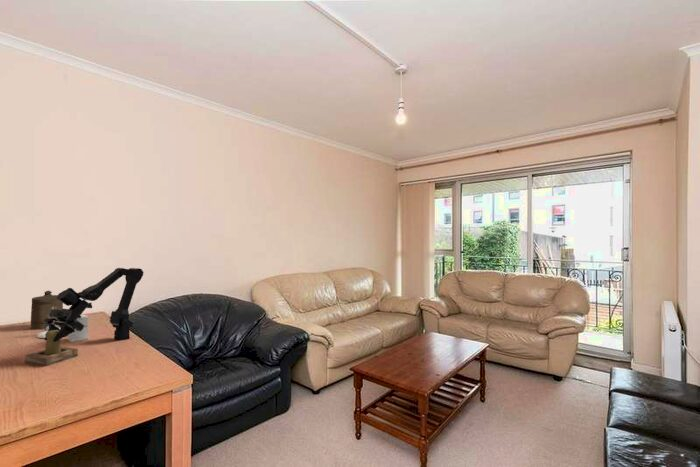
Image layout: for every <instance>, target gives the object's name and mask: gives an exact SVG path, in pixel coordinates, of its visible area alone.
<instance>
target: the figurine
mask: <svg viewBox="0 0 700 467" xmlns="http://www.w3.org/2000/svg"><path fill="white" fill-rule="evenodd" d="M51 309H55V310H56V308H55V307H51ZM47 316H48V318H54V317H51V316H49V315H47ZM55 318H57V317H55ZM48 329H49V326H48V325H46V326H45V328H44V329H43V330H42V331H40V332H39V333H37V334H36V338H39V339H45V334H46V332H48ZM59 329H61V327H60V328H59Z"/></svg>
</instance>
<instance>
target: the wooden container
mask: <svg viewBox="0 0 700 467" xmlns="http://www.w3.org/2000/svg"><path fill="white" fill-rule="evenodd" d="M52 293H53V292H52V291H51V290H45V291H44V294H43V295H40V296H34V297H32V298H31V312H30V329H32V330H44V328H45V326H46V325H47V324H45V323H44V322H43V321H44V320H45V319H46V318H48V316H47V315H49V314H50V312H51V307H55V308H56V310H62V309H64V303H62V302H61V301H59V300H58V299H57V296H58V294H54V295H53V294H52ZM51 317H53V316H51ZM54 318H55V317H54ZM55 319H56V318H55ZM57 320H58V319H57ZM58 321H59V320H58Z"/></svg>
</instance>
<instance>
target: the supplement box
mask: <svg viewBox="0 0 700 467" xmlns="http://www.w3.org/2000/svg"><path fill="white" fill-rule="evenodd" d="M80 316H82V317H81V318H78V319H77V321H79V322H80V323H82V324H83V325H84V328H83V330H82V331H76V329H75V330H74V331H75V332H73V333H71V334H69V335H67V341H69V342H71V343H75V342H79V341H86V340H88V339H89V316H88V315H86V314H81V315H80Z"/></svg>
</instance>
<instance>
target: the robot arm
mask: <svg viewBox="0 0 700 467" xmlns="http://www.w3.org/2000/svg"><path fill="white" fill-rule="evenodd" d="M123 276H125V286H124V288H123V292H122V295H121V298H120V300H119V304H118V307H117V308H116V309H115V310H112V311H111V314H110V317H109V318H108V319H109V322H110V324H111V325H112V327H113V328H114V331H113V332H114V336H113V338H114V340H115V341H123V340H130V338H131V337H130V328H132V327H133V326H134V323H133V322H132V321H131V320H130V319H129V318H130V313H129V308H130V306H131V302H132V300H133V296H134V293H135V289H136V286H137V284H138V283H139V282H141V280H142V278H143V276H144V271H143V269H142V268H139V267H138V268H137V267H130V268H123V267H117V268H115V269H114V270H113V271H112V272H111V273H110V274H108V275H107V276H105V277H104V278H103V279H101V280H100V281H98V282H97V283H96V284H93V285H90V286H88V287H86V288H84V289H82V290H81V291H79V292H77V291H75V290H74V289H73V288H71V287H67V289H65V290H62V291H61V292H59V293H58V294H57V295H58V296H57V299H58V300H59V301H61V302H62V303H63V305H65V306H66V307H69V306H70V307H69V308H63V309H62V310H55V309H51V312H50V314H49V316H53V317H57V318H56V319H55V318H46V319H45V320H44V321H43V322H44V323H45V324H47V325H48V326H49V329H48V331H51V330H59V333H58V334H57V335H56V337H55V338H54V340H53V341H54V342H56V341H58V340H59V341H61V339H63V338H65V337H68V335H69V334H71V333H73V332H75V331H74V330H75V329H76V331H82V330H83V328H84V325H83V324H82V323H80V322H79V321H77V319H78V318H81V317H82V316H80V315H83V313H84V312H85V310H86V309H92V308H93V304H92V302H94V301H95V302H96V301H97V300H98V299H99V298H100V297H102V295H103V294H104V291H106V289H108V288H109V287H110V286H111V285H113V284H114V283H115V282H117V281H118V280H119V279H120V278H121V277H123ZM88 301H90V302H88ZM57 319H58V320H59V321H58V320H57ZM60 327H61V329H59V328H60ZM43 339H44V341H45V342H46V341H47V338H46V337H45V338H43Z"/></svg>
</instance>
